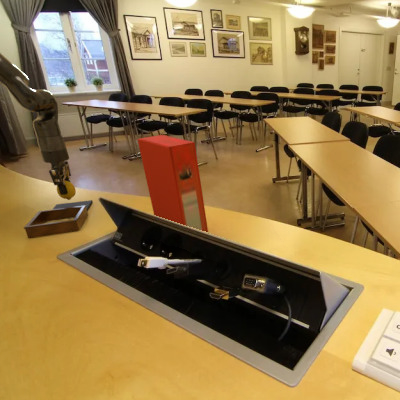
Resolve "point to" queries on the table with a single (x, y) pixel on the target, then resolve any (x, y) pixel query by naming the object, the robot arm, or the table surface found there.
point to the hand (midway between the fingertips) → (66, 191)
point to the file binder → (174, 180)
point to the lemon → (70, 190)
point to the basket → (40, 229)
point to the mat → (74, 204)
